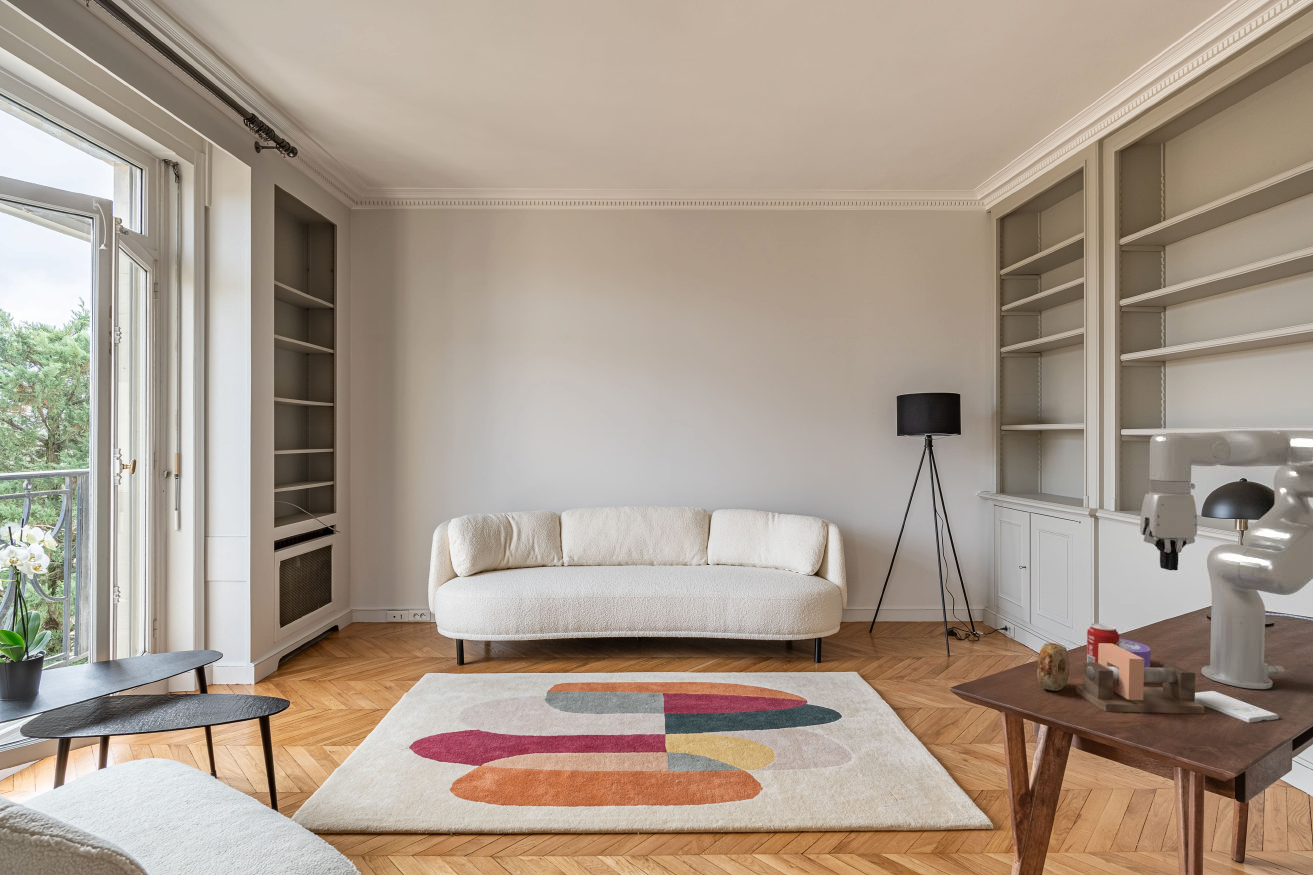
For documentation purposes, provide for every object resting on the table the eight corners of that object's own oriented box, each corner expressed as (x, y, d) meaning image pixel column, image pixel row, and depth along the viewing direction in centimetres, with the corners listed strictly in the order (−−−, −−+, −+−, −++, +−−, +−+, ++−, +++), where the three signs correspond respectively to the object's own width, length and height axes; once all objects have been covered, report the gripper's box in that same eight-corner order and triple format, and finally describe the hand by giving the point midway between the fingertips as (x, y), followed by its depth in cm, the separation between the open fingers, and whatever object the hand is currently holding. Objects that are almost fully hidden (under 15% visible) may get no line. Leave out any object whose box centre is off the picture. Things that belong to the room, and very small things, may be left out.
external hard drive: (1214, 697, 148) (1278, 721, 136) (1185, 700, 146) (1248, 725, 134) (1214, 690, 148) (1279, 713, 136) (1185, 693, 146) (1248, 717, 134)
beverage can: (1123, 683, 155) (1124, 631, 155) (1093, 680, 156) (1094, 629, 156) (1110, 673, 161) (1112, 623, 161) (1081, 671, 162) (1082, 621, 162)
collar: (1111, 681, 148) (1112, 643, 148) (1143, 700, 138) (1144, 658, 138) (1097, 681, 149) (1098, 643, 148) (1128, 699, 139) (1129, 658, 138)
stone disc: (1051, 696, 146) (1052, 651, 146) (1033, 691, 149) (1034, 646, 149) (1072, 686, 152) (1073, 642, 152) (1055, 681, 155) (1056, 638, 155)
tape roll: (1096, 652, 176) (1096, 633, 176) (1151, 663, 169) (1152, 643, 169) (1090, 664, 167) (1090, 644, 167) (1148, 676, 160) (1148, 655, 160)
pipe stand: (1168, 694, 148) (1168, 659, 148) (1204, 713, 138) (1204, 676, 138) (1076, 692, 149) (1077, 657, 149) (1105, 711, 139) (1106, 674, 139)
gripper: (1190, 486, 156) (1189, 565, 156) (1125, 486, 156) (1124, 565, 156) (1216, 490, 148) (1215, 572, 149) (1148, 490, 149) (1147, 572, 149)
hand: (1168, 568), depth 153 cm, fingers closed
